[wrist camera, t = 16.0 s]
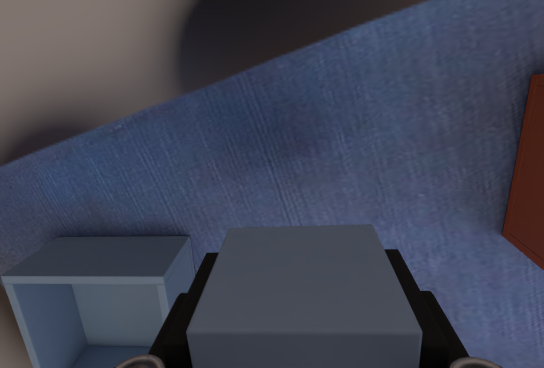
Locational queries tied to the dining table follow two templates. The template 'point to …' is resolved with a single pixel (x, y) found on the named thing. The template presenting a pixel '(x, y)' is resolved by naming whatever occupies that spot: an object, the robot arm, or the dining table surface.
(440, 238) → the dining table surface
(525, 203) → the terracotta bin
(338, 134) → the dining table surface
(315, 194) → the dining table surface
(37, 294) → the slate bin
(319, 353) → the slate block
